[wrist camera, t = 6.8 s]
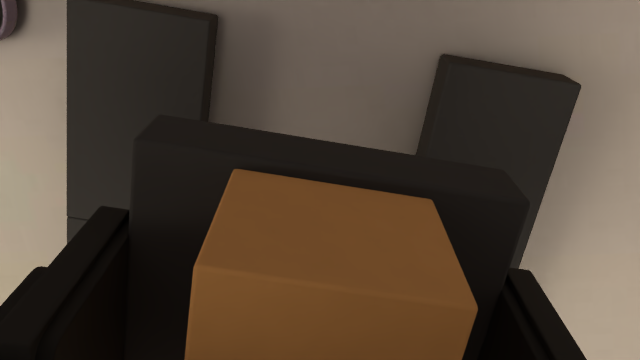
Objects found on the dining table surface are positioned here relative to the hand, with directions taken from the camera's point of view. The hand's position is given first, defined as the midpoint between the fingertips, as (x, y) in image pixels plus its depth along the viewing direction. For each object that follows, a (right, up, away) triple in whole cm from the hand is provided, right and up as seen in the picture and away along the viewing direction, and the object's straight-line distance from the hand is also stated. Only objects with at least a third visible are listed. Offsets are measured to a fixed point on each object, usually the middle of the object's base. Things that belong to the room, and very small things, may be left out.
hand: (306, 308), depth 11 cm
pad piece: (0, 0, +1) cm, 1 cm away
